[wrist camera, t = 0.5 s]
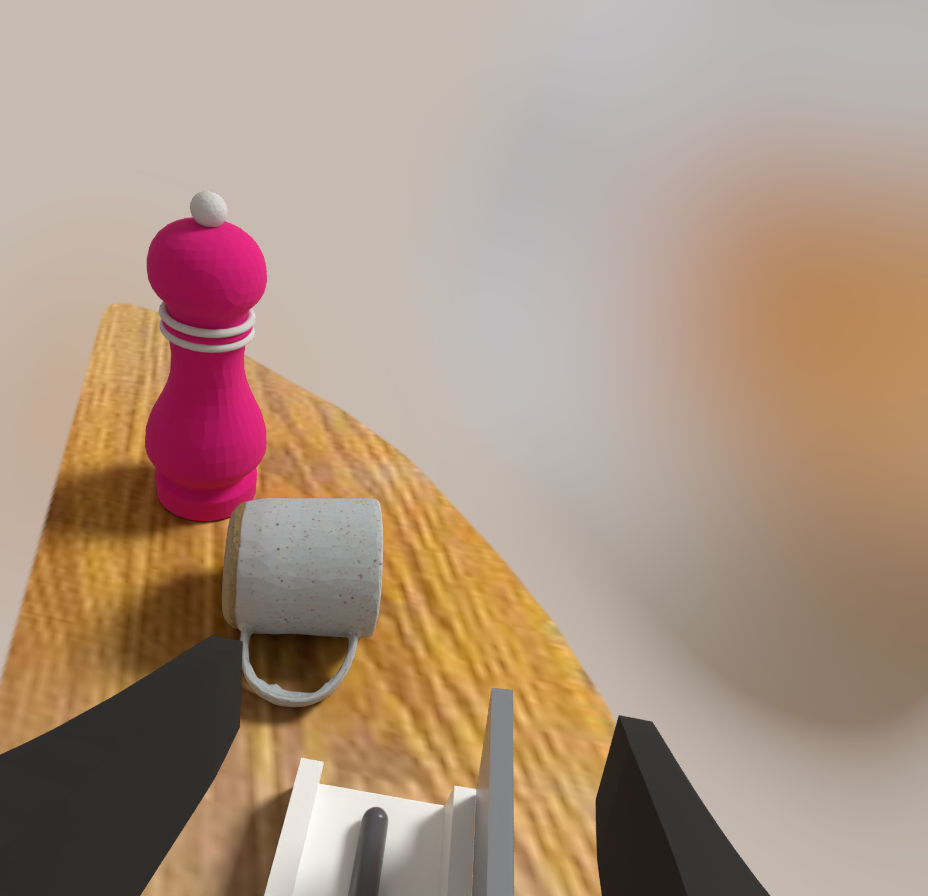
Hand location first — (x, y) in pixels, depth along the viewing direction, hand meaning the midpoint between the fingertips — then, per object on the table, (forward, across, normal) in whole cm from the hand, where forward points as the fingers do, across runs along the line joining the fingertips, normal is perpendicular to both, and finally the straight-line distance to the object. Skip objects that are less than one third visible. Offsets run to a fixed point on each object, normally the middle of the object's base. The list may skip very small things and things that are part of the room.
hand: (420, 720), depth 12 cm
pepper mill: (+29, +19, +10) cm, 36 cm away
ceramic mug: (+21, +9, +14) cm, 27 cm away
